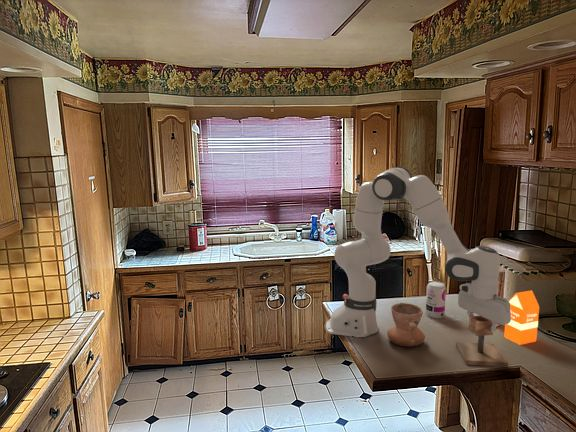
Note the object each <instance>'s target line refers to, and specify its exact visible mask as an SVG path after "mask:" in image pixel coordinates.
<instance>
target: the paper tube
mask: <svg viewBox="0 0 576 432" xmlns="http://www.w3.org/2000/svg"><path fill="white" fill-rule="evenodd" d="M505 282H506V268H505V267H501V266H500V272H499V276H498V283H499V286H498V296H500V297H502V298H505V297H504V296H505V295H504V294H505V284H506V283H505ZM499 326H501V324H498V325H497V327H499Z"/></svg>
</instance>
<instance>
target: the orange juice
mask: <svg viewBox="0 0 576 432" xmlns="http://www.w3.org/2000/svg"><path fill="white" fill-rule="evenodd" d="M508 301H509V303H510V311H511V321H510V323H508V324H505V325H504V333H503V334H504V336H503V337H504V338H505V339H507V340H509V341H511V342H512V343H515V344H517V345H520V346H521V345H526V344H529V343H535V342H536V341H537V337H538V336H537V335H538V327H539V314H540V305H539V303H538V300H537V298H536V296H535V294H534V292H533V289H532V290H526V291H520V292H515V294H514V295H513V296H512V297H511V298H510V299H509V300H508Z"/></svg>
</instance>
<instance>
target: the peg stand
mask: <svg viewBox="0 0 576 432" xmlns="http://www.w3.org/2000/svg"><path fill="white" fill-rule="evenodd" d="M455 347H456V349H457V351H458V353H459V355H460V357H461V359H462V360H463V362H464V364H465V365H474V366H475V365H476V366H488V367H489V366H491V367H492V366H493V367H508V362H507V360H506V359H505V357H503V355H502V353H501V352H500V351H499V349H498V347H497V346H496V345H495V344H494V343H485V335H484V336H477V343H475V342H457V341H456V342H455Z"/></svg>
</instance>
